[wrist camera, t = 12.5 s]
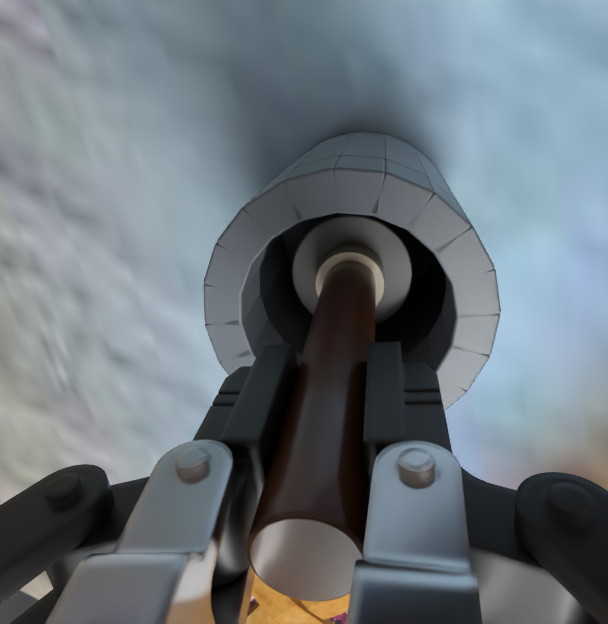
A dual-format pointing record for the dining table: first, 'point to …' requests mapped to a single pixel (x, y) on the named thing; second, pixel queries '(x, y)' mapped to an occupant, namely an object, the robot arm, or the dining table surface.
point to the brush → (328, 408)
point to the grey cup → (361, 201)
